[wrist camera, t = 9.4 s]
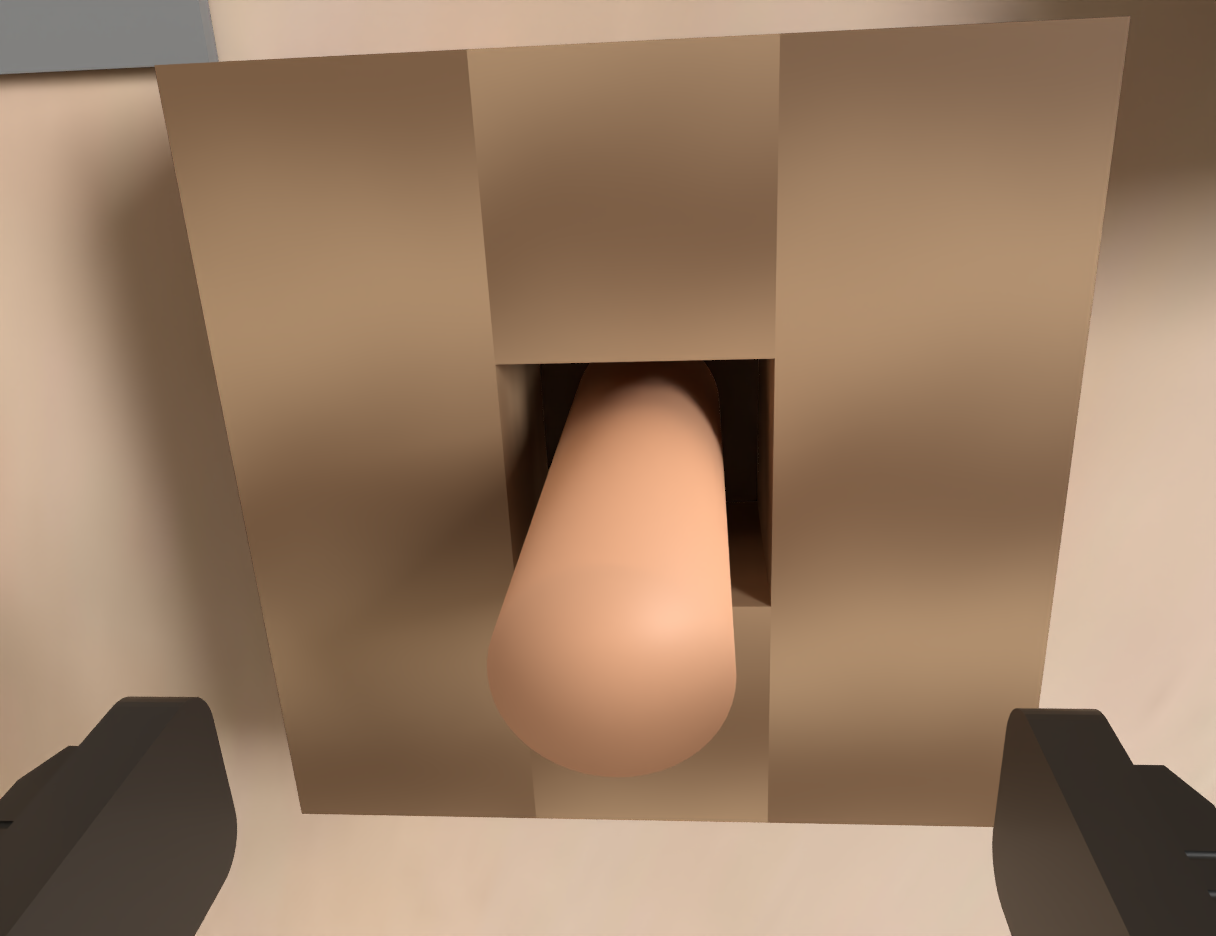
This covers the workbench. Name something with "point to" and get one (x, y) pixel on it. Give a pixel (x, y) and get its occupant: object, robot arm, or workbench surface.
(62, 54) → the mat
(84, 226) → the workbench surface
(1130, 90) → the workbench surface
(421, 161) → the hole block
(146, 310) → the workbench surface
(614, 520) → the peg
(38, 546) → the workbench surface
